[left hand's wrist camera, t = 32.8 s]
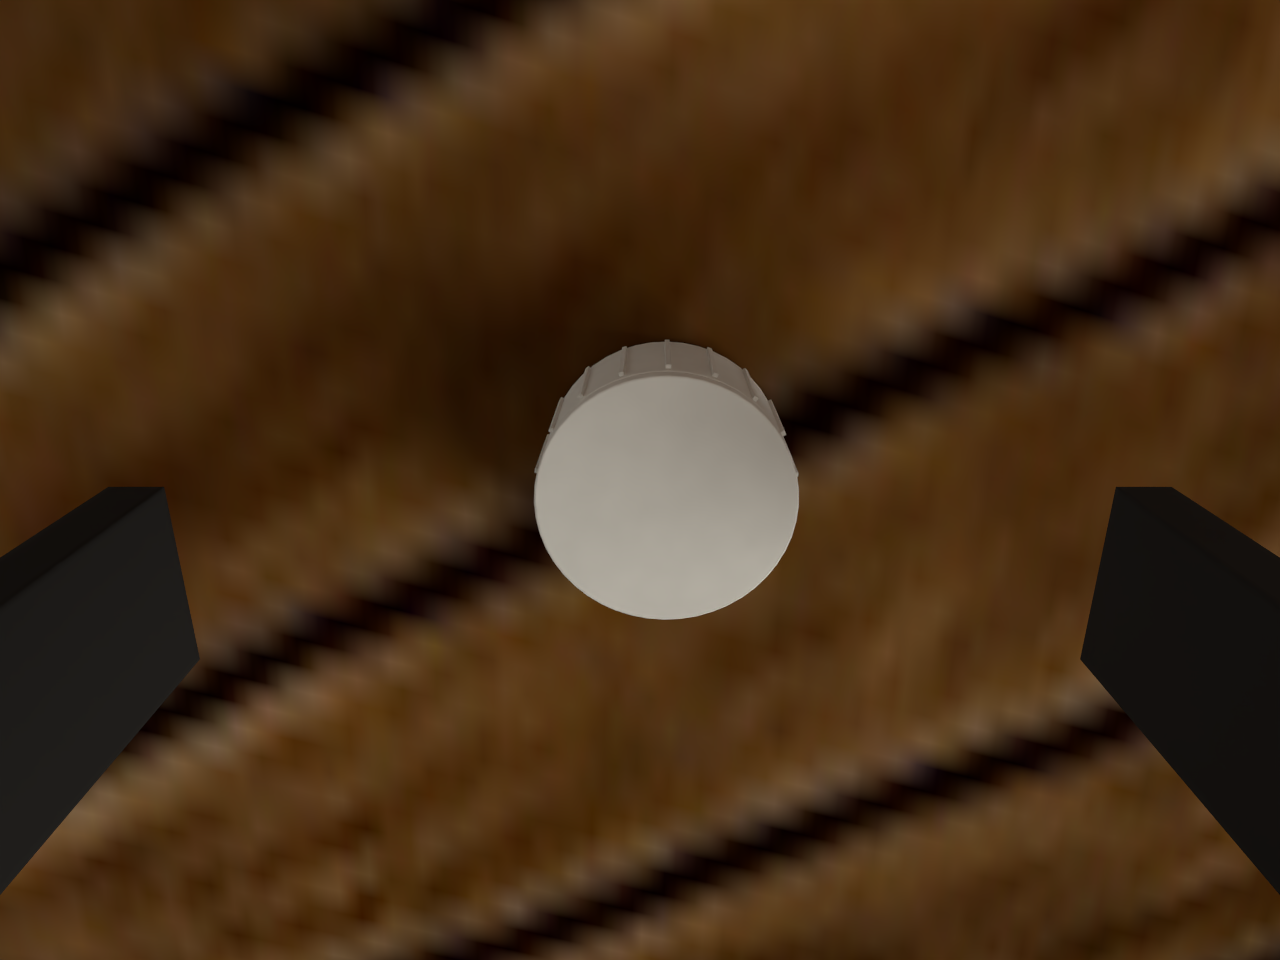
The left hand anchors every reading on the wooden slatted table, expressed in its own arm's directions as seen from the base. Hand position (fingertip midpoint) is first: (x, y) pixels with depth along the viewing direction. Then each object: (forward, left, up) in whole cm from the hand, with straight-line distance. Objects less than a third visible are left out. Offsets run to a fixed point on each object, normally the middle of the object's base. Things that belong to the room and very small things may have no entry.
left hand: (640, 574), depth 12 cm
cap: (0, 0, -2) cm, 2 cm away
